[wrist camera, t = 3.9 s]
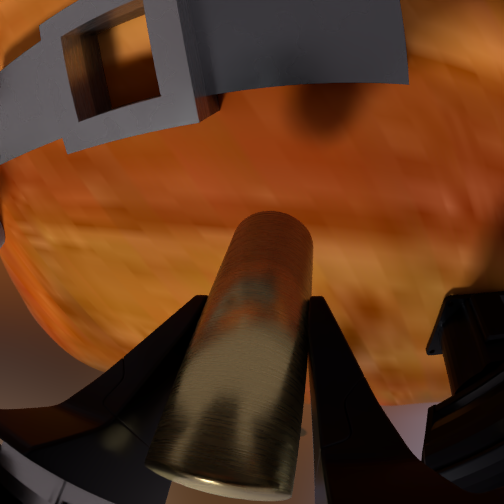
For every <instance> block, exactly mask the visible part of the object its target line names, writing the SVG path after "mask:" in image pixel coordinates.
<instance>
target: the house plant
mask: <svg viewBox="0 0 504 504" xmlns="http://www.w3.org/2000/svg"><path fill="white" fill-rule="evenodd" d="M4 242H5V234H4V229H3V226H2V224H1V222H0V248H1V246H2V245H3V244H4Z"/></svg>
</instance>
